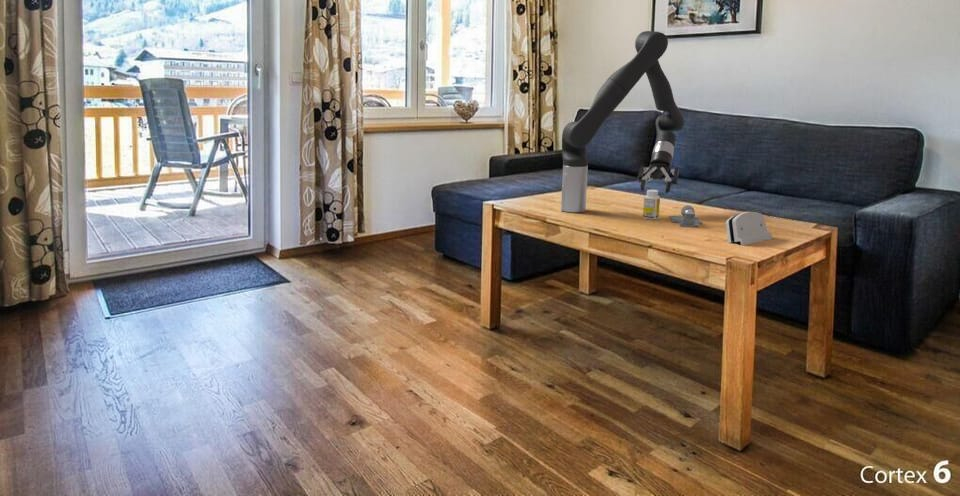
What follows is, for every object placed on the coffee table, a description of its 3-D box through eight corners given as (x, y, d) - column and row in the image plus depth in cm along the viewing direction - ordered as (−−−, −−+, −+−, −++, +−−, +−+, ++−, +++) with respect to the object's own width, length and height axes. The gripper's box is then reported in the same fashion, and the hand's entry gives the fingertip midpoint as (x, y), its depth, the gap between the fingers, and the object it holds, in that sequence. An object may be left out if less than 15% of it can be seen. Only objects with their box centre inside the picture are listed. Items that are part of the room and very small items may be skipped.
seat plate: (672, 222, 233) (672, 221, 233) (669, 216, 242) (669, 215, 242) (701, 223, 231) (701, 222, 231) (697, 217, 241) (697, 216, 241)
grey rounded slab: (742, 245, 202) (735, 213, 202) (728, 247, 206) (722, 216, 206) (772, 238, 211) (766, 207, 211) (759, 240, 215) (753, 210, 215)
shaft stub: (680, 226, 227) (681, 208, 225) (677, 222, 234) (679, 205, 232) (698, 227, 226) (700, 209, 225) (695, 223, 233) (697, 205, 231)
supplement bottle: (654, 216, 243) (656, 189, 240) (661, 219, 238) (663, 191, 235) (640, 217, 242) (642, 189, 239) (646, 220, 237) (648, 192, 234)
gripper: (642, 148, 248) (634, 183, 241) (681, 150, 243) (674, 186, 235) (644, 161, 254) (636, 195, 247) (682, 163, 249) (675, 198, 241)
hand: (654, 191), depth 241 cm, fingers open, 8 cm apart
